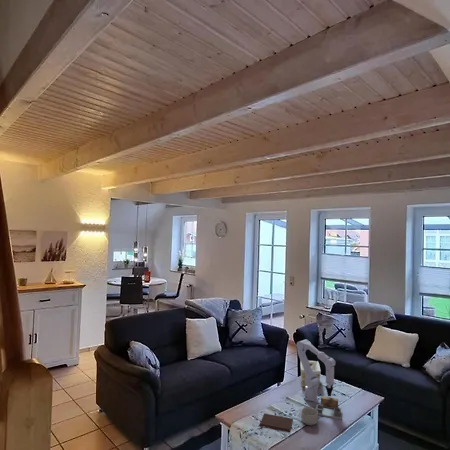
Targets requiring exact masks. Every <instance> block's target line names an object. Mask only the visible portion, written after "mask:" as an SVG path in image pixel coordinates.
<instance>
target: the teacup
mask: <svg viewBox="0 0 450 450" xmlns="http://www.w3.org/2000/svg"><path fill="white" fill-rule="evenodd" d="M300 412H301V419H302V421H303V423H304V424H305V425H307V426H314V425H316V424H317V423H318V420H319V419H318V418H319V415H318V411H317V410H316V408H313V406H309V407H304V408H302V409H301V411H300Z"/></svg>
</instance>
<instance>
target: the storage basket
mask: <svg viewBox="0 0 450 450" xmlns="http://www.w3.org/2000/svg"><path fill="white" fill-rule="evenodd" d="M308 362H309V364H310V367H311V369H312V372H313V373H314V374H315V375H316V376H317V378H318V379H319V382H320V380H321V379H320V378H321V375H322V374H321V372H322V370H321V367H320V366H321V365H320V363H319V361H318V360H317V361H316V360H308ZM299 366H300V384H301V386H302V387H304V388H305V386H307V385H306V380H305V378H306V373H305V371H304V368H303V365H302V363H301V361H300V364H299ZM319 387H320V384H319V385H318V387H317V389H319Z"/></svg>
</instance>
